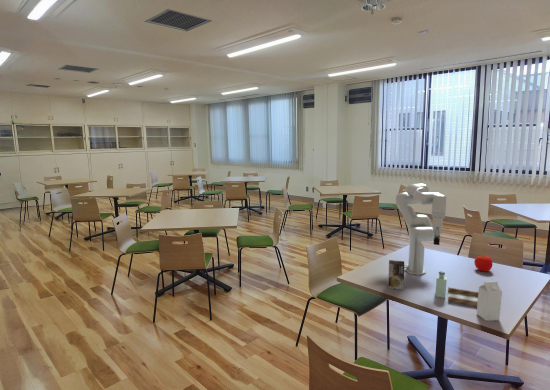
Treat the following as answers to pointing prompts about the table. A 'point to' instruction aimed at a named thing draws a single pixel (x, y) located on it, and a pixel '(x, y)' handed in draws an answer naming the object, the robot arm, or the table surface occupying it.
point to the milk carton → (489, 301)
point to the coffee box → (396, 274)
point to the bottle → (441, 285)
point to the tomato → (483, 263)
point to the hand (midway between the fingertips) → (436, 242)
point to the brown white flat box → (462, 297)
